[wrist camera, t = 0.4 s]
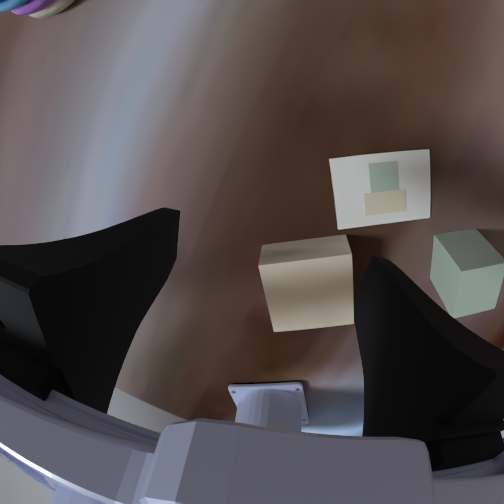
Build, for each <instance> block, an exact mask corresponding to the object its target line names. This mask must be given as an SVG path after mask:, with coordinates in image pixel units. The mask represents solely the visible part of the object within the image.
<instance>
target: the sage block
mask: <svg viewBox="0 0 504 504" xmlns="http://www.w3.org/2000/svg"><path fill="white" fill-rule="evenodd" d="M503 277H504V258H503V257H502V256H501V255H500V254H499V253H498V252H497V251H496V249H495V248H494V247H493V246H492V245H491V244H490V243H489V242H488V241H487V240H486V239H485V238H484V237H483V236H482V235H481V234H480V233H479V232H478V230H477V229H470V230H463V231H456V232H449V233H442V234H434V242H433V254H432V265H431V273H430V279H431V281H432V283H433V285H434V286H435V288H436V290H437V292H438V294H439V296H440V298H441V299H442V301H443V303H444V305H445V307H446V309H447V311H448V313H449V315H451V316H452V317H453V318H457V317H462V316H466V315H470V314H474V313H478V312H482V311H486V310H490V309H494V308H495V305H496V302H497V299H498V295H499V292H500V288H501V285H502V281H503Z"/></svg>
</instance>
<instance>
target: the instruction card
mask: <svg viewBox="0 0 504 504" xmlns="http://www.w3.org/2000/svg"><path fill="white" fill-rule="evenodd" d="M329 162H330V169H331V176H332V183H333V191H334V199H335V207H336V216H337V225H338V230H339V229H347V228H355V227H362V226H370V225H377V224H385V223H393V222H401V221H409V220H416V219H424V218H430V152H429V149H423V150H409V151H397V152H385V153H375V154H365V155H356V156H348V157H339V158H332V159H329Z"/></svg>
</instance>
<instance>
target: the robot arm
mask: <svg viewBox="0 0 504 504" xmlns="http://www.w3.org/2000/svg"><path fill="white" fill-rule="evenodd" d="M179 219H180V211H179V210H174V209H169V208H160V209H157V210H154V211H151V212H149V213H146V214H144V215H141V216H138V217H136V218H133V219H131V220H128V221H126V222H123V223H120V224H117V225H114V226H111V227H109V228H106V229H103V230H100V231H97V232H93V233H90V234H86V235H82V236H78V237H74V238H68V239H63V240H58V241H52V242H46V243H38V244H27V245H0V455H1V456H2V457H3V458H5V459H6V460H7V461H9V462H10V463H11V464H13V465H14V466H16V467H17V468H19V469H20V470H22V471H23V472H25V473H26V474H28V475H29V476H31V477H32V478H34V479H35V480H37V481H39V482H40V483H42V484H43V485H45V486H47V487H49V488H50V489H52V490H54V491H55V492H54V494H53V497H52V499H51V502H50V504H504V438H503V439H502V436H501V432H500V431H502V430H504V420H503V419H504V351H503V350H501V349H499V348H498V347H496V346H494V345H492V344H491V343H489V342H487V341H486V340H484V339H482V338H481V337H479V336H478V335H476V334H475V333H473V332H472V331H470V330H469V329H468V328H466V327H465V326H463V325H462V324H461V323H459V322H458V321H457V320H456V319H454V318H453V317H452V316H451V315H449V314H448V313H447V312H446V311H444V310H443V309H442V308H441V307H440V306H439V305H438V304H436V303H435V302H434V301H433V300H432V299H431V298H430V297H429V296H428V295H427V294H426V293H425V292H423V291H422V290H421V289H420V288H419V287H418V286H417V285H416V284H415V283H414V282H413V281H412V280H411V279H410V278H409V277H408V276H407V275H406V274H405V273H404V272H403V271H402V270H400V269H399V268H398V267H397V266H396V265H395V264H393V263H392V262H391V261H389V260H388V259H385V258H381V257H377V256H372V259H371V261H370V263H369V266H368V268H367V270H366V272H365V274H364V277H363V279H362V281H361V283H360V285H359V288H358V290H357V292H356V294H355V296H354V298H353V299H354V321H355V327H356V332H357V338H358V343H359V349H360V354H361V360H362V366H363V374H364V424H363V435H362V437H361V436H340V435H326V434H315V433H305V432H301V425H307V424H309V419H308V413H307V407H306V401H305V396H304V390H303V384H302V383H301V382H287V383H268V384H233V385H229V386H228V390H229V392H230V394H231V396H232V398H233V400H234V402H235V404H236V406H237V413H236V419H235V422H229V421H220V420H211V419H203V418H201V419H195V420H188V421H182V422H175V423H172V424H169V425H167V427H166V428H165V430H164V431H163V433H158V432H155V431H152V430H149V429H146V428H143V427H140V426H137V425H134V424H131V423H129V422H126V421H123V420H120V419H118V418H115V417H113V416H110V415H108V414H107V411H108V407H109V404H110V400H111V397H112V394H113V391H114V388H115V385H116V382H117V379H118V376H119V373H120V370H121V368H122V365H123V362H124V360H125V357H126V355H127V352H128V350H129V347H130V345H131V343H132V340H133V338H134V336H135V333H136V331H137V329H138V327H139V325H140V323H141V321H142V320H143V318H144V316H145V315H146V313H147V311H148V310H149V308H150V307H151V305H152V303H153V302H154V300H155V298H156V297H157V295H158V294H159V292H160V290H161V289H162V287H163V285H164V284H165V282H166V280H167V279H168V277H169V274H170V272H171V270H172V268H173V265H174V263H175V261H176V258H177V243H178V231H179Z"/></svg>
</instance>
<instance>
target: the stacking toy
mask: <svg viewBox="0 0 504 504" xmlns="http://www.w3.org/2000/svg"><path fill="white" fill-rule="evenodd" d="M74 1H75V0H0V11H11V12H13V13H14V14H18V15H29V16H31V17H34V18H46V17H50V16H53V15H55V14H57V13H59V12H61V11H62V10H64V9H65V8H67V7H68V6H69V5H70V4H71V3H73V2H74Z"/></svg>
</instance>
